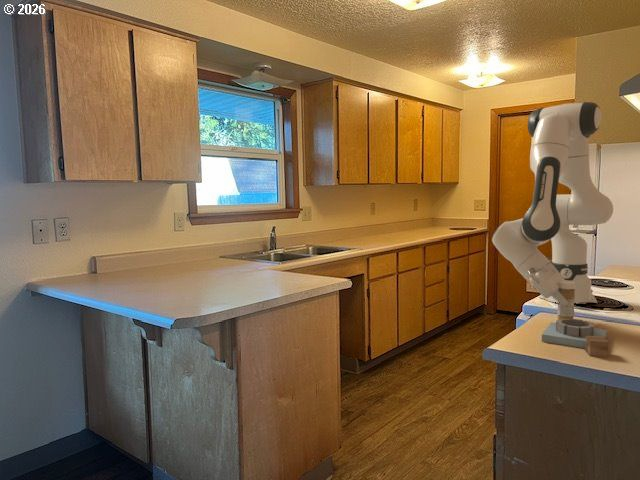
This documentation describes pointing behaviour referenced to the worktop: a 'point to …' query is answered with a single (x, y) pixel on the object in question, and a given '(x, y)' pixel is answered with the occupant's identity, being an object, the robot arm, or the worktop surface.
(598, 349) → the walnut block
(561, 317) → the sprinkles bottle
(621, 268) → the worktop surface
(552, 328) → the hub board
